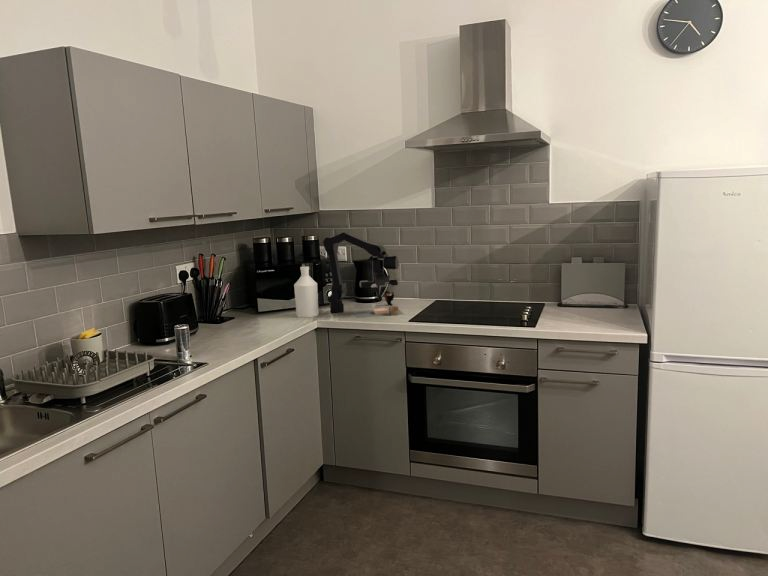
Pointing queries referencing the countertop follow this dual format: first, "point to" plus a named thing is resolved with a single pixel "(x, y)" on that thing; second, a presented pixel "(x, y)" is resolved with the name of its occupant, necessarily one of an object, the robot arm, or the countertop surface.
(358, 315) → the mat
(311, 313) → the bottle
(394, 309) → the cube
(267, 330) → the countertop surface
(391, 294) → the figurine
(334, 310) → the robot arm
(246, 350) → the countertop surface
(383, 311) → the tile
